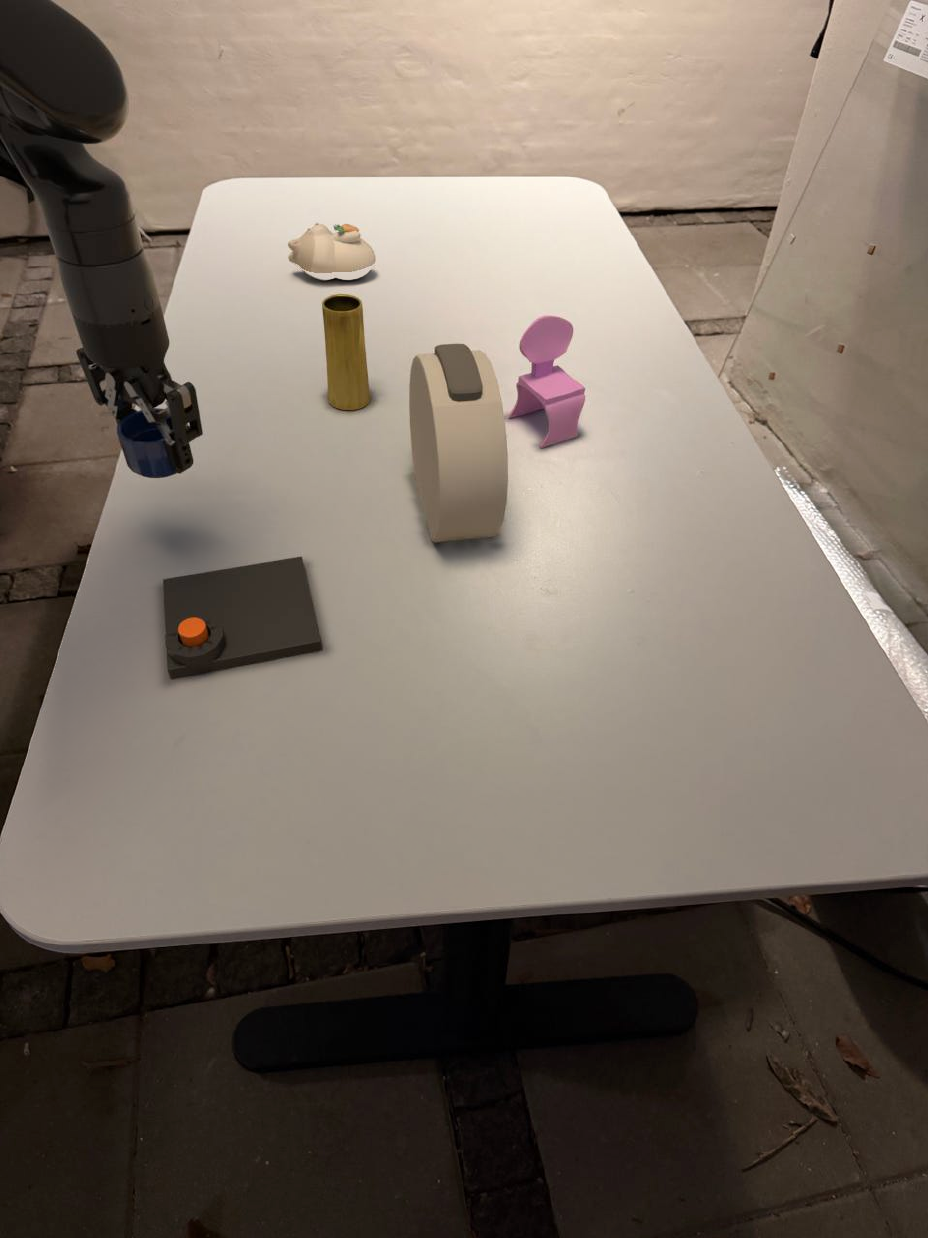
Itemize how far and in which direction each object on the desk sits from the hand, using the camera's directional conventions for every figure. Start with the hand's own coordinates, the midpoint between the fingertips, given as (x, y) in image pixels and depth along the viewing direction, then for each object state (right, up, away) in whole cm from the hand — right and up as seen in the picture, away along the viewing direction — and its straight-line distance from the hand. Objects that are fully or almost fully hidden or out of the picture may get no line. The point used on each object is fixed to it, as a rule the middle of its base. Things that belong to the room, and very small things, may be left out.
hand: (159, 456), depth 81 cm
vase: (+15, +14, +30) cm, 37 cm away
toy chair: (+43, +10, +28) cm, 52 cm away
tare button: (+5, -19, -4) cm, 20 cm away
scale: (+8, -17, +1) cm, 19 cm away
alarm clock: (+31, -3, +16) cm, 34 cm away
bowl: (0, -1, +1) cm, 1 cm away
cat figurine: (+9, +43, +56) cm, 72 cm away
